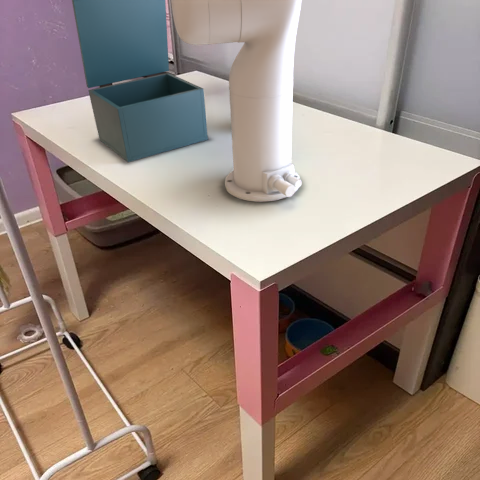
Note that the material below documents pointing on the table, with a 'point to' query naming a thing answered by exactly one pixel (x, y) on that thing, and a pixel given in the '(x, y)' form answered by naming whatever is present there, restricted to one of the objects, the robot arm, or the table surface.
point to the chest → (149, 115)
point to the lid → (121, 39)
